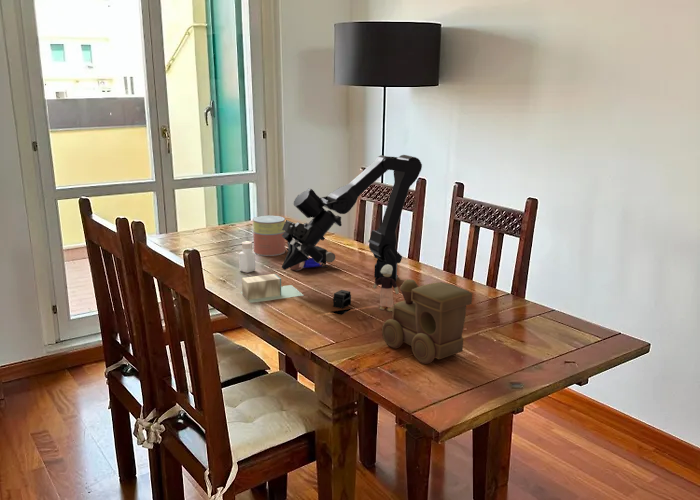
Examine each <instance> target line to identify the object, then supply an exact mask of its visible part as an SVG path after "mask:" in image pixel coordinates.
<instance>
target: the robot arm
mask: <svg viewBox="0 0 700 500" xmlns="http://www.w3.org/2000/svg"><path fill="white" fill-rule="evenodd" d="M422 168H423V164H422V162H421V160H420V159H419V158H418V157H416V156H411V155H407V154H402V155H400V156H398V157H397V156H396V157H395V156H386V155H382V154H381V155H379V156H377V157H376V158H375V160H374V161H373V162H372V163H371V164H369V165H368V166H367V167H366V168H365V169H363V170H362V172H360V173H359V174H358V175H357V176H356V177H355V178H353V179H352V180H351V181H350V182H349V183H347V184H345V185H343V186H339V187H338V188H336V189H335V190H333V191H332V192H330V193H329V194H328V195H327V196H321V197H320V196H318V194H317V193H316V192H315V190H314V189H312V188H308V189H306V190H304V191H303V192H301V193H300V194H298V195H297V196H296V197H295V198H294V200H293V206H294V207H295V208H296V209H297V210H298V211H299V212H300V213H302V214H303V215H304V216H305V217H306V218H308V219H310V218H311V220H310V221H309V222H304V223H301V222H298V221H297V222H293V221H291V220H288V219H285V224H284V226H283V229H282V230H283V231H285V232H284V234H283V235H282V237H283V238H284V239H285V242H286V241H287V242H286V243H287V246H288V247H287V248H289V250H287V253H286V256H285V258H284V260H283V263H282V265H281V268H282V269H283V270H284V271H286V270H288V269H291V268H290V267H292V266H294V265H296V264H299V263H301V262H304V261H306V260H309V258H313V259H314V261H315V262H317V263H318V264H319V262H320V261H321V260H322V259H323V254H322V253H321V252H320V251H319V250H317V249H316V248H315V246H317V244H319V242H320V241H324V240H325V239H326V237H325V235H326V234H327V232H328V231H329V230H330V229H331V228H332V227H333V225H334V224H335V225H337V226H339V227H342V224H343V223H342V217H341V216H340V215H345V214H348V213H349V212H350V211H351V210H352V208H354V206H355V204H356V203H357V201H358V199H359V197H360V195H362V193H364V192H365V191H366V190H367V189H369V187H371V185H373V184H374V183H375V182H376V181H377V180H379V179H380V177H382V176H383V175H384V174H385V173H386V172H388V171H393V181H394V183H393V186H392V190H391V193H390V195H389V198H388V203H387V205H386V208H385V211H384V215H383V217H382V221H381V224H380V226H379V228H377V230H375V229H373V230H371V231H370V232H371V233H370V234H371V235H370V238H369V239H368V248H369V250H370V252H371V253H372V254H373V257H374V259H377V260H376V263H375V264H374V276H373V277H374V278H375V279H374V282H375V281H376V280H377V279H378V278H380V277H384V276H383V274H382V273H381V272H380V271H381V269H382V267H383V266H385V265H387V264H389V265H391V266H392V267H393V270H392V275H391V276H390V278H392V279H394V281H395V282H396V283H397V280H398V277H399V275H398V264H400V263H401V261H402V260H403V256H402V254H400V253H399V251H397V249H396V248H397V242H398V241H397V232H396V231H397V228H398V224H399V221H400V218H401V215H402V211H403V209H404V206H405V204H406V203H405V202H406V200H407V197H408V193H409V190H410V188H411V186H412V185H413V184H414V183H415V182H416V181H417V179H418V178H419V175H420V173H421V171H422ZM324 207H325V208H326V209H328V210H326V209H325V208H324ZM332 211H333V212H332ZM334 212H335V213H337V214H339V215H336V214H334Z"/></svg>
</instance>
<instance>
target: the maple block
mask: <svg viewBox="0 0 700 500" xmlns="http://www.w3.org/2000/svg"><path fill="white" fill-rule="evenodd" d="M281 286H282V278H281V277H280V276H279V275H277V274H276V273H272V274H271V273H270V274H263V275H256V276H249V277H248V276H247V277H241V288H242V291H241V292H242V294H241V295H242V296H243V297H244V298H245V299H246V300H247V301H248V300H251V299H258V298H265V297H273V296H280V295H281Z"/></svg>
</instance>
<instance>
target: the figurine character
mask: <svg viewBox="0 0 700 500" xmlns="http://www.w3.org/2000/svg"><path fill="white" fill-rule="evenodd" d="M315 248H316V249H317V250H319V251H320V252H321V253H322V254H323V259H322V260H321V261H320V262H319V264H318V263H317V262H315V261H314V259H313V258H312V257H308V258H309V260H306V261H304V262H301V263H299V264H296V265H294V266H292V267H290V268H289V269H291V270H292V271H302V269H303V268H317V267H318V268H328V265H327V263H329V264H330V263H333V262H334V261H335V260H336V255H335V253H334V252H331V251H328V250H327V249H326V248H324V247H321V246H318V245H316V246H315ZM288 250H289V248H288V247H287V248H286V251H288Z"/></svg>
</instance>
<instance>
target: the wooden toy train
mask: <svg viewBox="0 0 700 500" xmlns="http://www.w3.org/2000/svg"><path fill="white" fill-rule="evenodd" d="M399 290H400V292H401V294H402V297H403V300H402V301H401V300H400V301H398V302H396V303H393V311H392V314H391V315H392V318H389V319H386V320H385V322H383V324H382V328H381V334H382V335H381V336H382V339H383V340H384V342H385V344H386V345H387V346H389V348H392V349H398V348H400V347H402V345H403V344H404V343H405V344H406V345H409V346H411V351H412V355H413V356H414V357H415V359H416V360H417V361H418V362H420V363H422V364H425V365H427V364H430V363H431V362H432V363H433V361H434V360H435V359H437V360H441V359H444V358H445V359H446V358H447V357H451V356H453V355H457V354H458V353H461V352H463V351H464V338H463V336H462V335H463V331H464V327H465V322H466V315H467V314H466V313H467V306H470V305H473V304H472V303H473V292H471V291H469V290H467V289H465V288H463V287H459V286H457V285H454V284H452V283H447V282H442V281H439V282H432V283H427V284H424V285H420V286H419V285H418V284H417V282H416V280H415V279H404V281H403V282H402V284H401V285H400V286H399Z"/></svg>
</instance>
